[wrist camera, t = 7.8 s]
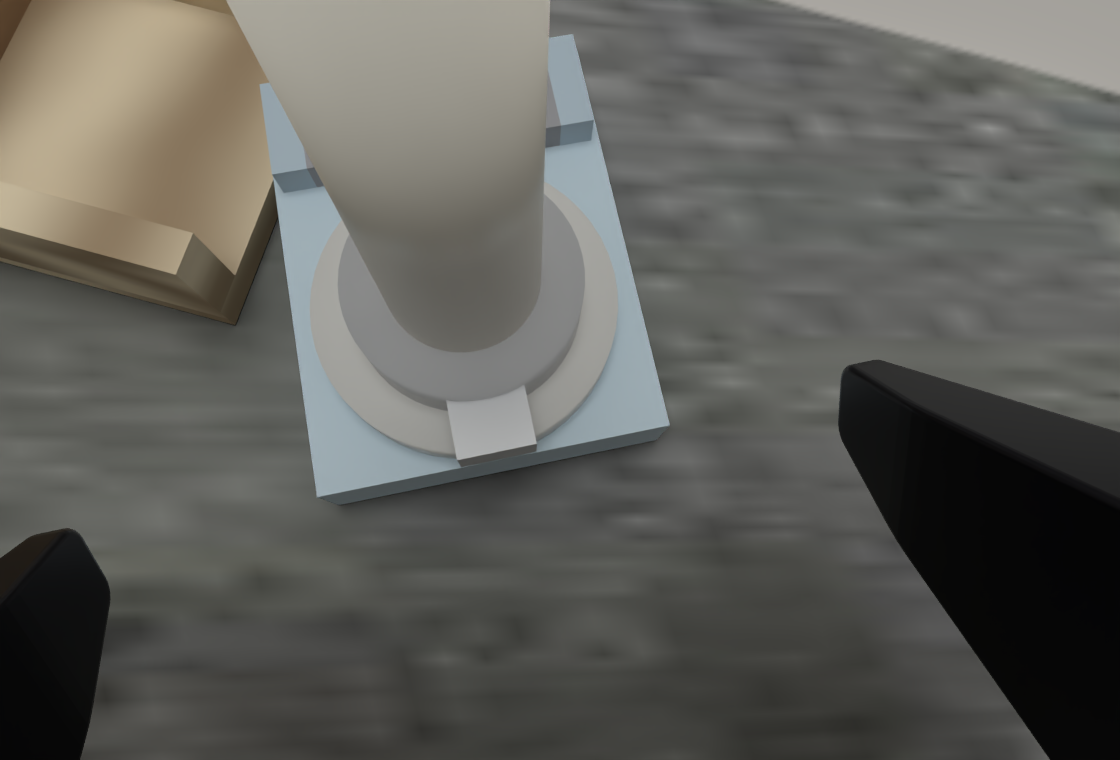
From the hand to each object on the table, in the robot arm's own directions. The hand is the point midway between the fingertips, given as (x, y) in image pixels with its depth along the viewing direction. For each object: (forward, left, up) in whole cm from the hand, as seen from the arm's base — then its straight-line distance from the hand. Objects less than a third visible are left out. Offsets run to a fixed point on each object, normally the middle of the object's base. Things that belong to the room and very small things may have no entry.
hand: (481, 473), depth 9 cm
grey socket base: (+6, -1, -10) cm, 12 cm away
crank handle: (+5, -1, -7) cm, 9 cm away
